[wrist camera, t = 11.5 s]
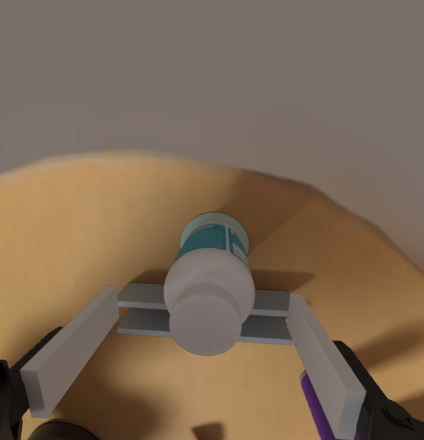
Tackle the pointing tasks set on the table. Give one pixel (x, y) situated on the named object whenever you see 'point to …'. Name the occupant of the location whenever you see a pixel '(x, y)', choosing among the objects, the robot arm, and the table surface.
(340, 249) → the table surface
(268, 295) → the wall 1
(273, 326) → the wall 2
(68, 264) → the table surface
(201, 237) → the pill bottle
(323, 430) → the container
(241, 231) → the spot
